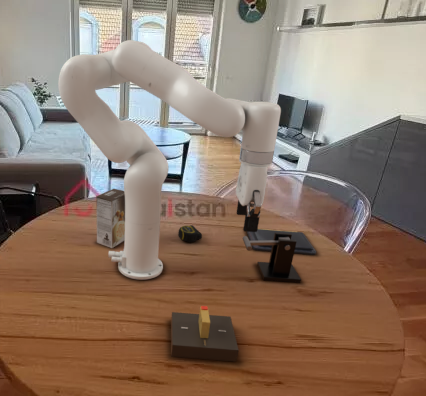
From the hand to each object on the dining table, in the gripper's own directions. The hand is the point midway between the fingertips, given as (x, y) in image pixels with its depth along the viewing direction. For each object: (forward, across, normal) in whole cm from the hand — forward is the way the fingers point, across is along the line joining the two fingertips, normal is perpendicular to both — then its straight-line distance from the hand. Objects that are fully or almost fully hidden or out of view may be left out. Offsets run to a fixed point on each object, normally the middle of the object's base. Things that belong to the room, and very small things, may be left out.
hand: (246, 222), depth 92 cm
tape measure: (+18, -24, -12) cm, 32 cm away
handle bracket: (+18, -6, +13) cm, 23 cm away
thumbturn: (+15, +23, -11) cm, 29 cm away
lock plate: (+18, +23, -11) cm, 31 cm away
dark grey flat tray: (+18, -26, +18) cm, 37 cm away
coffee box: (+18, -19, -36) cm, 45 cm away
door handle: (+10, -6, +8) cm, 14 cm away
